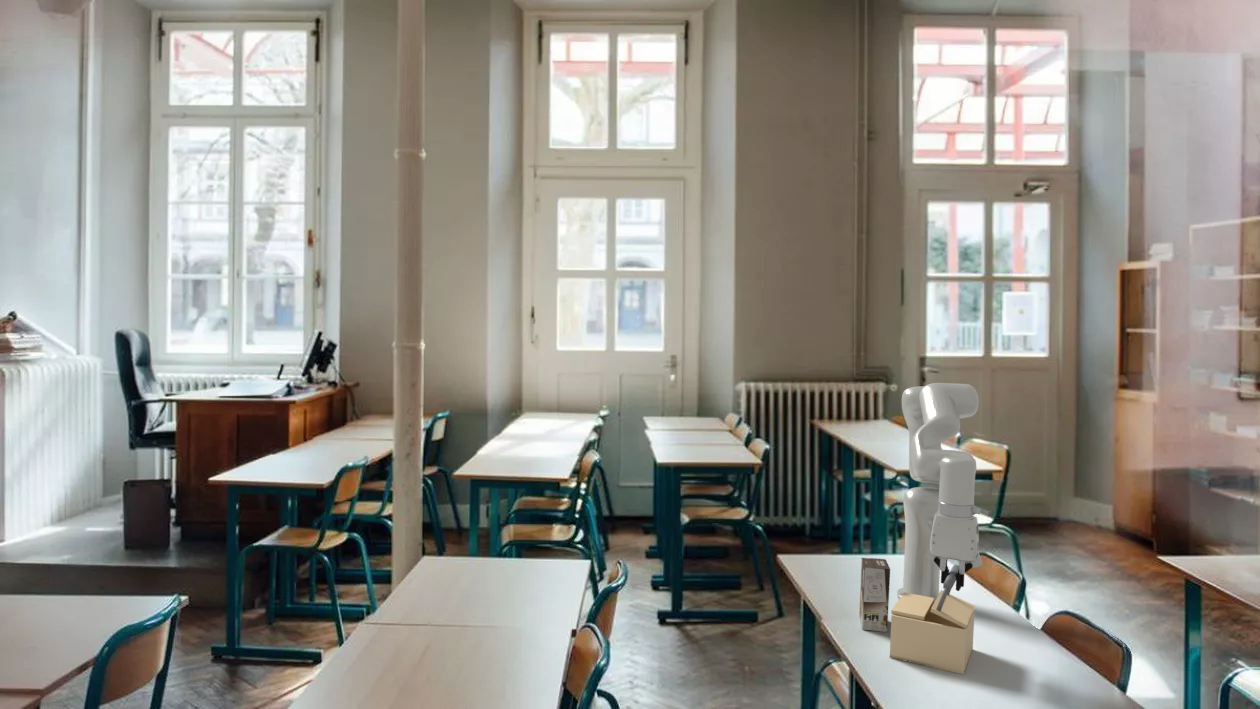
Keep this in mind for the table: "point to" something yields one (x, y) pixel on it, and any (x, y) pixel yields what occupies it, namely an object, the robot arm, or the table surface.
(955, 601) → the flap
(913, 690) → the table surface
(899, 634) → the carton
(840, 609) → the table surface
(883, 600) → the coffee box
